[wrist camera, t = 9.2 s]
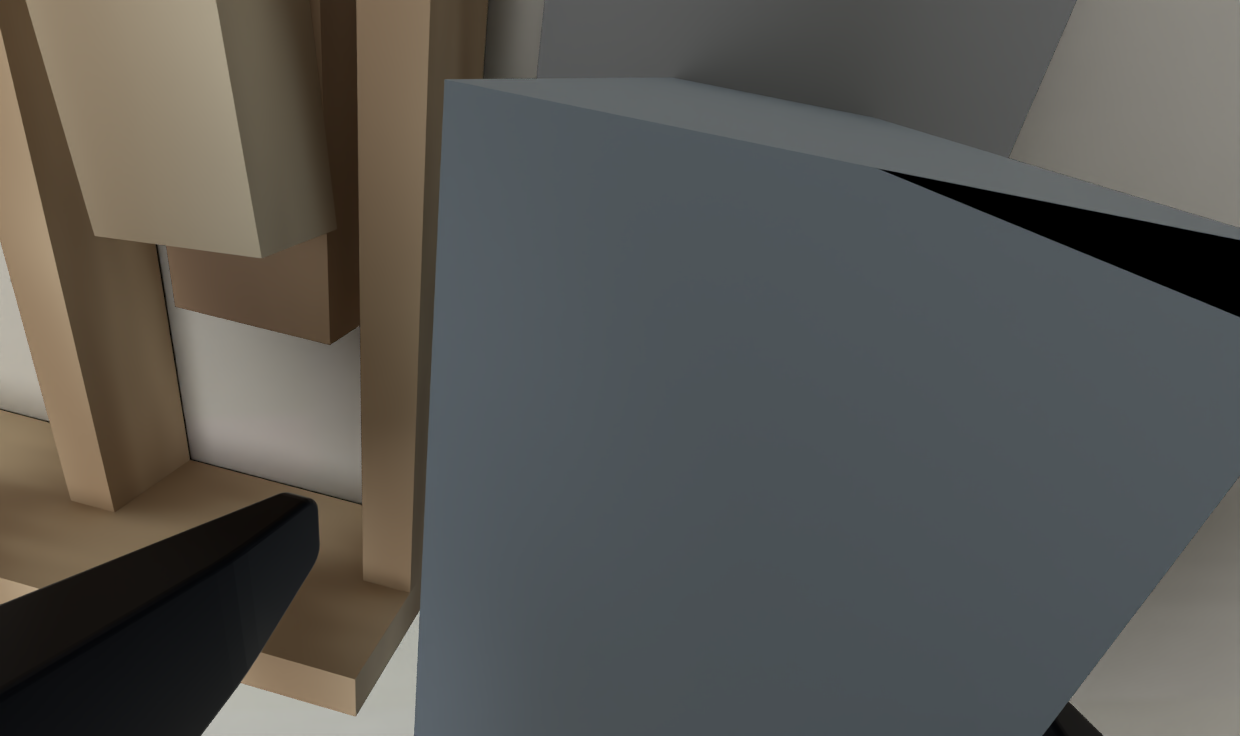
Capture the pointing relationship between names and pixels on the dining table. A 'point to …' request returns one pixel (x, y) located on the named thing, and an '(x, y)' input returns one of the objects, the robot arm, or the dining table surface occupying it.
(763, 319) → the light blue block
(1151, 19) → the dining table surface
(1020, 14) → the mat
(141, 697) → the robot arm
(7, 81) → the rack
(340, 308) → the offcut lower
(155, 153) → the offcut upper
